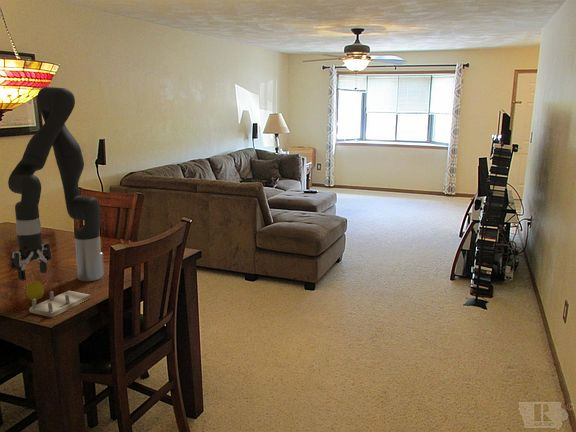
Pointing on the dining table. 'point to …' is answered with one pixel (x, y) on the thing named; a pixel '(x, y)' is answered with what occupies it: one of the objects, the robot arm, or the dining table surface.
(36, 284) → the lemon
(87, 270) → the robot arm
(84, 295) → the peg board
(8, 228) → the dining table surface
